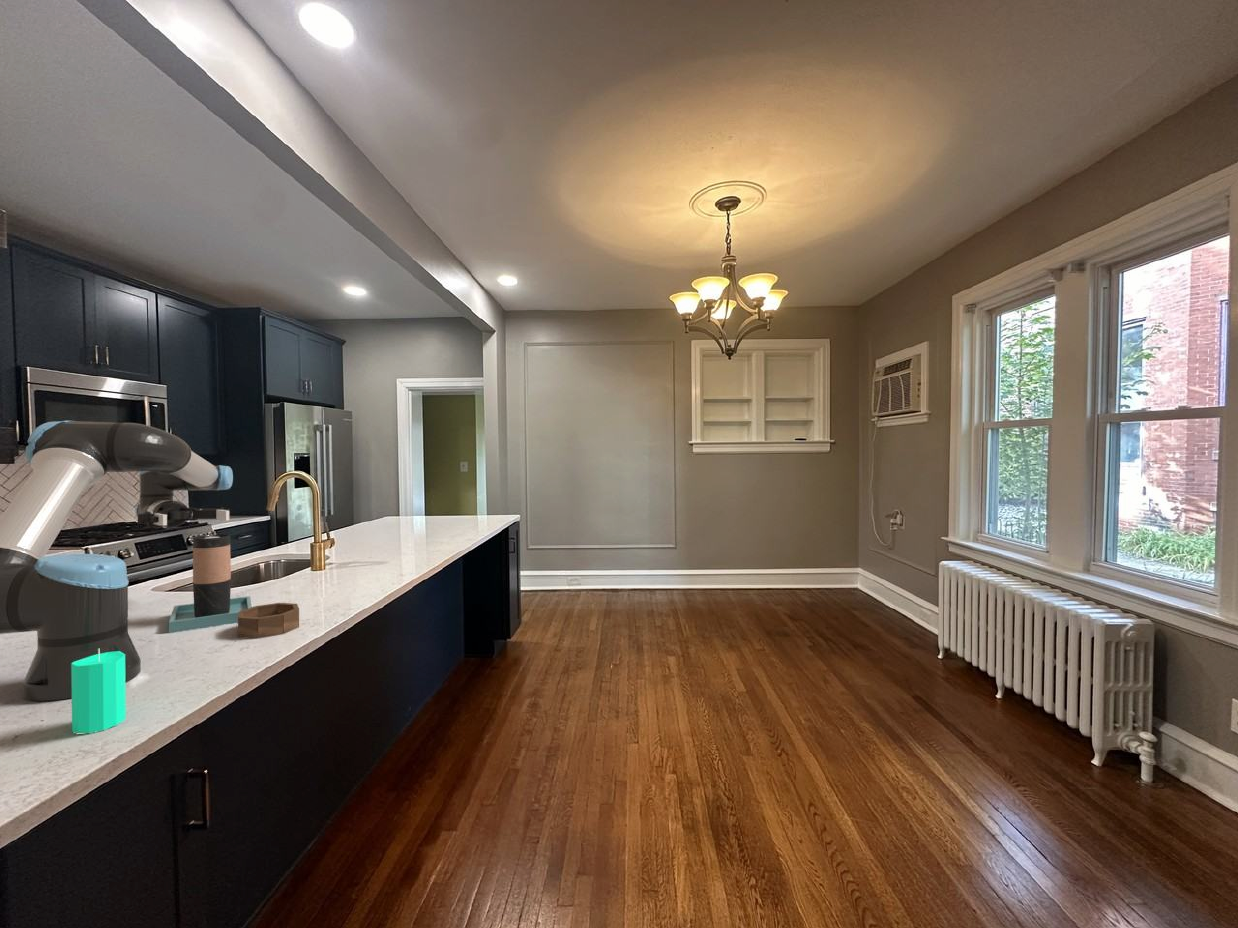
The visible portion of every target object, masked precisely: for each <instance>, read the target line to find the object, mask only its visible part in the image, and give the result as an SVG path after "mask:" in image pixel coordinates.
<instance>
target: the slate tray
mask: <svg viewBox="0 0 1238 928" xmlns="http://www.w3.org/2000/svg"><path fill="white" fill-rule="evenodd" d="M251 607H253V606H252V601H251V596H250V595H248V596H241V597H233V598H230V611H229V613H226V614H219V615H212V616H205V617H197V618H196V617H195V614H194V602H193V603H187V604H179V605H178V604H177V605H174V607H173V608H172V609H173V610H172V611H171V615H170V617H169V621H168V633H169V634H171V633H177V631H179V632H184V631H183V630H185V631H191V630H190V629H192V630H197V629H198V628H199V629H204V628H205V629H206V628H210V626H212V627H216V625H218V626H224V624H225V625H229V624H230V625H231V624H236V623H237V624H238V612H240V611H243V610H246V609H249V608H251Z"/></svg>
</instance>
